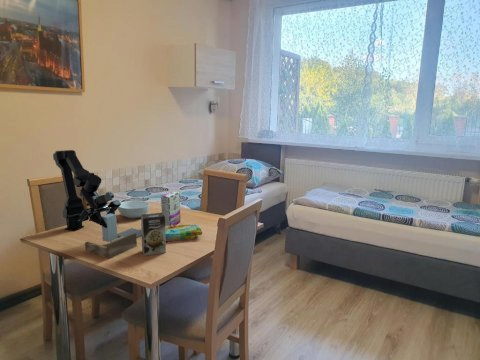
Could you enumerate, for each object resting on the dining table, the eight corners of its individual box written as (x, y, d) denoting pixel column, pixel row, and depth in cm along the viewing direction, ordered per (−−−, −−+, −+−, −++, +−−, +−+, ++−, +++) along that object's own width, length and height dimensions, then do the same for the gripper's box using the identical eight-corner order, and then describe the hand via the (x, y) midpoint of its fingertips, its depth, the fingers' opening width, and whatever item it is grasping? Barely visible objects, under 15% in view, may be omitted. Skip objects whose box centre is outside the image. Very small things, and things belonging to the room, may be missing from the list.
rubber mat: (114, 236, 168) (114, 234, 167) (131, 229, 177) (131, 228, 177) (132, 240, 163) (132, 239, 162) (148, 233, 172) (148, 231, 172)
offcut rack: (85, 251, 149) (84, 238, 148) (113, 240, 162) (112, 227, 161) (109, 258, 143) (108, 244, 142) (136, 246, 156) (136, 233, 155)
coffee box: (144, 256, 146) (142, 218, 142) (141, 250, 152) (140, 214, 148) (166, 252, 149) (165, 216, 146) (163, 247, 155) (162, 211, 152)
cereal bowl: (145, 221, 190) (144, 208, 188) (114, 220, 190) (113, 208, 188) (153, 212, 206) (152, 200, 205) (124, 211, 206) (124, 199, 205)
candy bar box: (172, 220, 191) (171, 191, 188) (180, 222, 189) (180, 192, 186) (161, 227, 180) (160, 196, 177) (170, 228, 179) (169, 197, 176)
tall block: (102, 240, 155) (101, 216, 153) (111, 236, 160) (110, 213, 157) (108, 241, 154) (107, 217, 152) (117, 238, 158) (116, 214, 156)
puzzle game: (156, 225, 170) (198, 222, 176) (157, 234, 171) (198, 231, 176) (157, 233, 159) (202, 230, 164) (158, 243, 160) (202, 239, 165)
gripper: (82, 190, 146) (102, 221, 143) (117, 182, 162) (136, 209, 159) (70, 206, 151) (90, 236, 148) (105, 197, 167) (124, 223, 164)
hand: (111, 225), depth 155 cm, fingers closed on tall block, 5 cm apart
